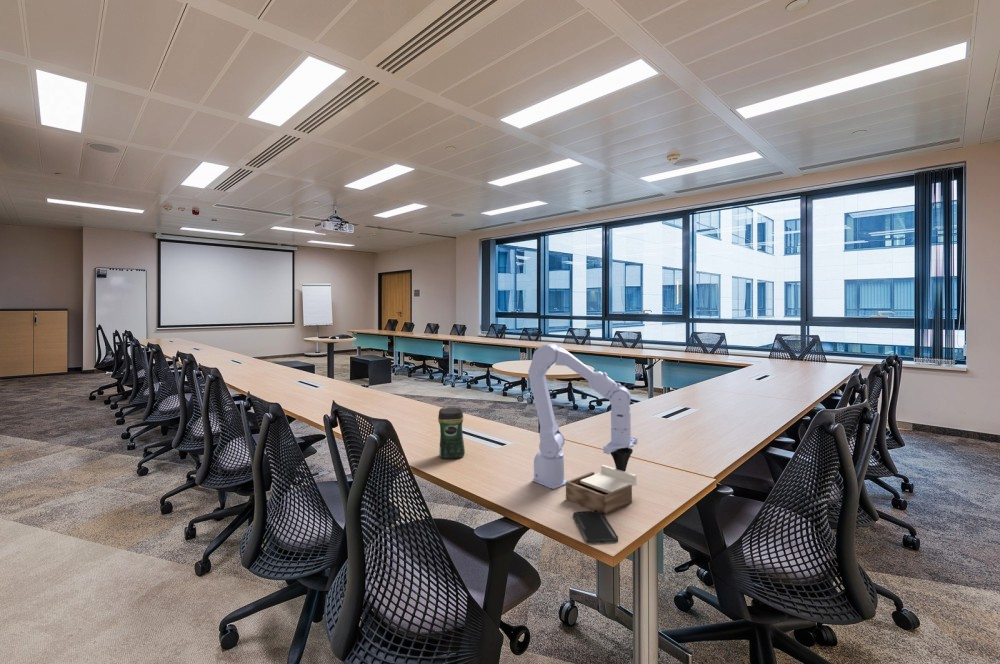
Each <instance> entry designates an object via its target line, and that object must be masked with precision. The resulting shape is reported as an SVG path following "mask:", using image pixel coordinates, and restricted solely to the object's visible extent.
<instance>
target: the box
mask: <svg viewBox="0 0 1000 664" xmlns="http://www.w3.org/2000/svg"><path fill="white" fill-rule="evenodd" d="M592 475H595V472H594V471H590V472H588V473H585V474H582V475H580V476H577V477H576V478H572V479H570V480H569V481H567V482H566V484H565V500H567V501H570V502H571V503H572V502H573V503H575V504H578V505H580V506H582V507H585V508H587V509H590V510H591V511H601V512H602V513H603V514H604V516H608V515H609V514H611V513H613V512H615V511H617V510H619V509H621V508H623V507H625V506H627V505H629V504H631V503H633V492H632V491H633V486H632V485H631V484H628V485H626V486H624V487H622V488H620V489H617V490H615V491H613V492H611V493H606V492H603V491H601V490H598V489H595V488H592V487H590V486H587V485H584V484H582V483H580V480H582V479H584V478H587V477H590V476H592Z"/></svg>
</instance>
